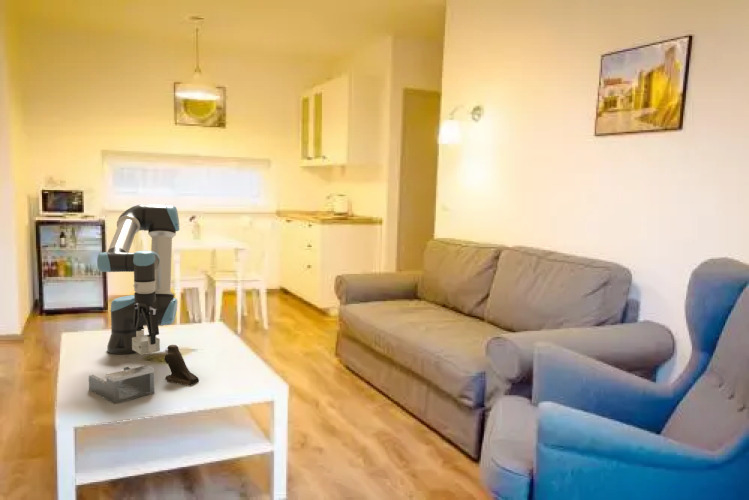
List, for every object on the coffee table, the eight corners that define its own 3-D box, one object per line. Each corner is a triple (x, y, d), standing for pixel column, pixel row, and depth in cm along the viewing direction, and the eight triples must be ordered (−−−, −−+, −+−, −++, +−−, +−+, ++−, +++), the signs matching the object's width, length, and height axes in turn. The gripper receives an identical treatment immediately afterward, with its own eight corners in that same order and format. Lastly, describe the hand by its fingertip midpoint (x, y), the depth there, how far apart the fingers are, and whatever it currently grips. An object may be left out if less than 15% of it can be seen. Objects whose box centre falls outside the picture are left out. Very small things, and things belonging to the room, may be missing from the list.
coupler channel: (89, 389, 203) (88, 365, 202) (127, 380, 214) (127, 357, 213) (114, 403, 191) (113, 378, 190) (154, 393, 202) (153, 368, 201)
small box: (131, 350, 222) (131, 337, 222) (151, 346, 228) (151, 333, 227) (140, 355, 217) (140, 341, 216) (160, 351, 223) (160, 338, 222)
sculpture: (171, 376, 219) (170, 342, 218) (199, 381, 215) (199, 346, 213) (161, 381, 214) (160, 346, 213) (189, 386, 209) (189, 350, 208)
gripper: (122, 288, 223) (123, 345, 226) (149, 297, 210) (150, 358, 213) (140, 286, 229) (141, 341, 232) (168, 294, 215) (169, 353, 219)
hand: (146, 349), depth 222 cm, fingers closed on small box, 8 cm apart
